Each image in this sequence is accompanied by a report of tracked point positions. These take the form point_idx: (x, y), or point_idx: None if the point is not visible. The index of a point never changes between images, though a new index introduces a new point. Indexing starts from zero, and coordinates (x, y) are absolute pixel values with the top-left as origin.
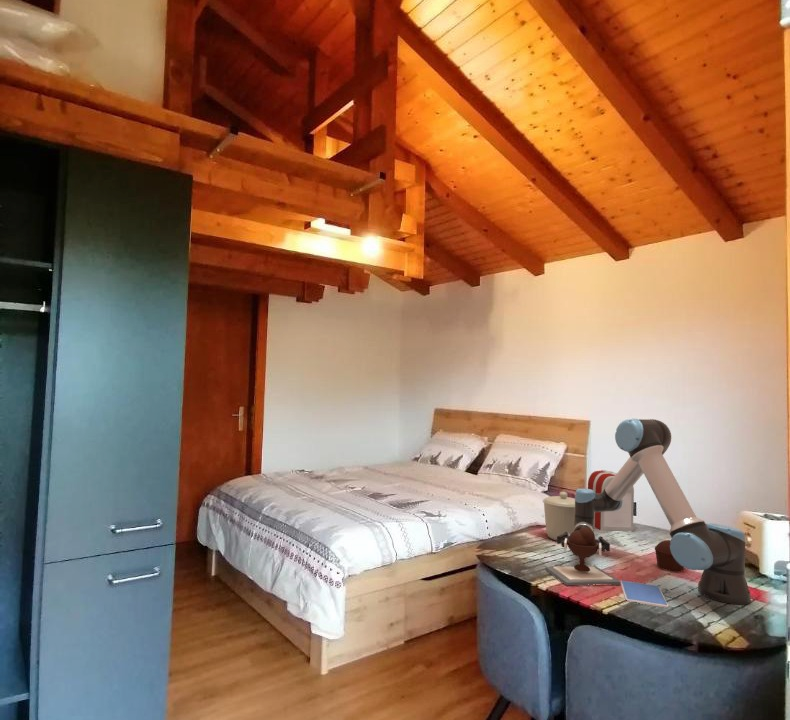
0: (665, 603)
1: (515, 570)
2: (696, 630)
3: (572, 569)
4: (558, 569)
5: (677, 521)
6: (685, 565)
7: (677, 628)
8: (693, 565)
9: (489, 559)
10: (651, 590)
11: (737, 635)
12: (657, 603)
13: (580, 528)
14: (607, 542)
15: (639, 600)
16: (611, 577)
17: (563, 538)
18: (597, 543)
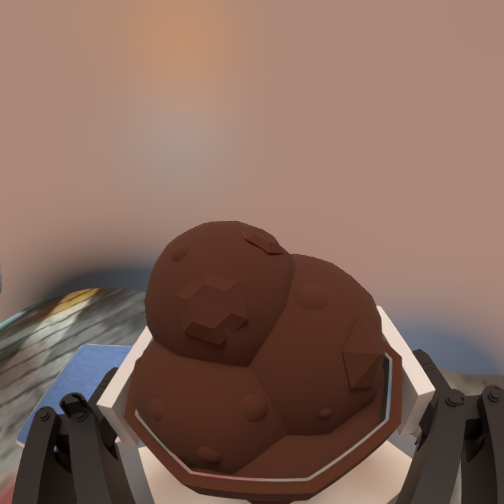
0: (80, 349)
1: (498, 385)
2: (102, 300)
3: (326, 495)
4: (388, 452)
5: None
6: (1, 286)
7: (125, 298)
8: (1, 275)
9: None
10: (54, 408)
11: (61, 303)
12: (97, 345)
13: (279, 245)
14: (30, 440)
15: (129, 347)
16: (134, 478)
17: (447, 391)
18: (137, 377)
